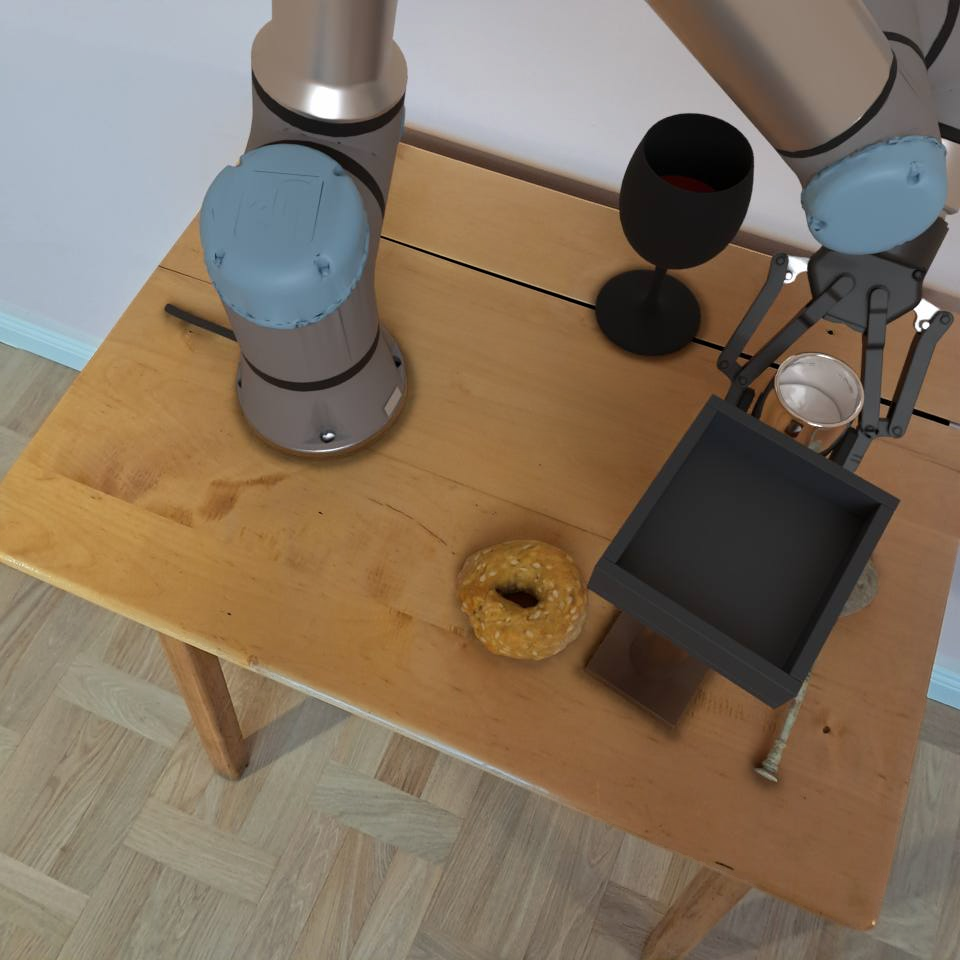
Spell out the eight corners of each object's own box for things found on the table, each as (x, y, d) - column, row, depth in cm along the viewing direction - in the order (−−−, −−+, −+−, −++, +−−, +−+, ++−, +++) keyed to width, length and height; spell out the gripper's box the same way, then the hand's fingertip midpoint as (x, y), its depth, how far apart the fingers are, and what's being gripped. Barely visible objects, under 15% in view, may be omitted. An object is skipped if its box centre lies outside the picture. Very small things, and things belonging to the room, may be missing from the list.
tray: (585, 587, 48) (594, 566, 45) (698, 421, 53) (712, 393, 50) (774, 710, 45) (796, 696, 42) (875, 523, 50) (901, 499, 47)
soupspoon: (880, 562, 75) (806, 529, 76) (896, 545, 72) (819, 512, 73) (802, 800, 65) (718, 758, 67) (817, 792, 62) (729, 748, 64)
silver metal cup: (794, 521, 75) (867, 437, 62) (714, 506, 76) (769, 419, 62) (797, 452, 78) (868, 357, 65) (720, 438, 79) (774, 341, 65)
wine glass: (700, 276, 87) (762, 111, 69) (701, 362, 82) (768, 208, 65) (596, 266, 87) (632, 99, 69) (592, 351, 83) (628, 195, 65)
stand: (583, 671, 69) (636, 570, 49) (634, 593, 72) (704, 467, 52) (671, 730, 67) (765, 652, 47) (719, 647, 70) (828, 539, 50)
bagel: (495, 523, 75) (498, 499, 70) (607, 591, 72) (616, 571, 68) (429, 616, 71) (428, 597, 67) (544, 691, 68) (550, 676, 64)
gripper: (1028, 251, 65) (882, 518, 72) (763, 161, 68) (651, 426, 76) (1062, 253, 58) (896, 548, 66) (765, 153, 61) (642, 445, 69)
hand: (765, 482), depth 71 cm, fingers open, 8 cm apart
